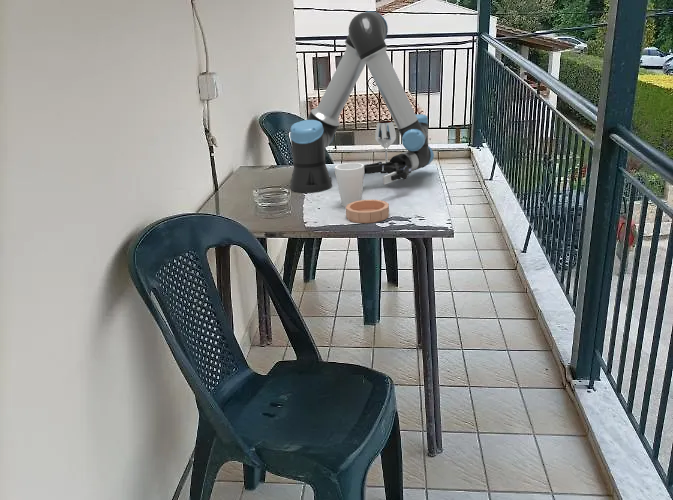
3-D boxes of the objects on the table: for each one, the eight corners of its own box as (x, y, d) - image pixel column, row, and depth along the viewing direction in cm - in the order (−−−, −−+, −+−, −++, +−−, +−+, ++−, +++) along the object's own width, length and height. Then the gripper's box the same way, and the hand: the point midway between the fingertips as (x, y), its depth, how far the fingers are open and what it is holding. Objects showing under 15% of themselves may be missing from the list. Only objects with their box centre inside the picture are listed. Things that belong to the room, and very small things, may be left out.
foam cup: (345, 211, 204) (343, 171, 199) (332, 204, 211) (329, 166, 207) (371, 205, 208) (369, 166, 203) (357, 198, 215) (355, 161, 211)
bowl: (338, 219, 197) (337, 208, 195) (364, 207, 206) (363, 197, 204) (371, 225, 189) (371, 214, 187) (397, 213, 198) (396, 203, 196)
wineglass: (397, 169, 249) (396, 122, 243) (377, 170, 250) (374, 124, 243) (396, 164, 257) (394, 119, 250) (376, 165, 257) (374, 120, 251)
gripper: (433, 177, 221) (399, 193, 207) (375, 170, 237) (339, 184, 222) (433, 156, 219) (398, 171, 204) (374, 150, 234) (338, 163, 219)
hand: (367, 178), depth 213 cm, fingers open, 13 cm apart
